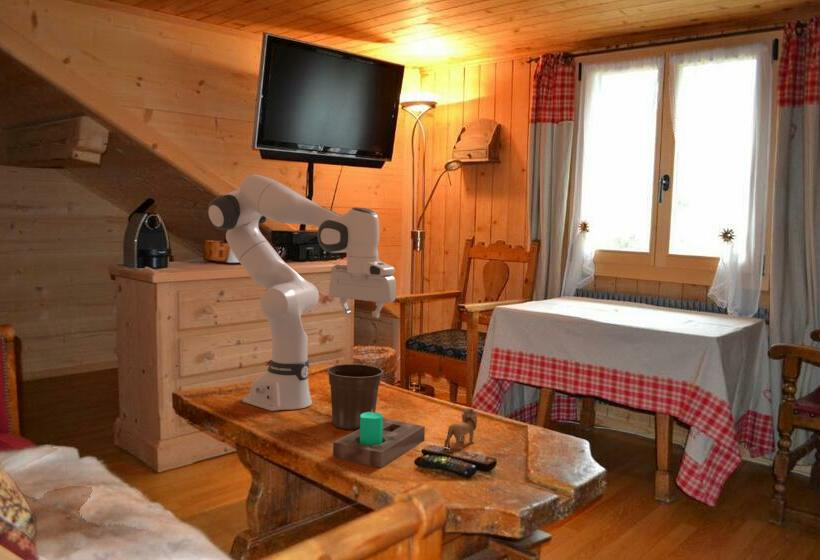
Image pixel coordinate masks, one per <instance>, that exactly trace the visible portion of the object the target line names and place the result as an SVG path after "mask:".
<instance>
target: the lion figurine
mask: <svg viewBox="0 0 820 560" xmlns="http://www.w3.org/2000/svg"><path fill="white" fill-rule="evenodd" d="M477 418H478V416H477V412H476V410H475V409H473V408H471V407H467V408H465V409H464V410H463V413H461V420H462V421H461V422H459V423H457V422H454V423H451V424H450V426H448V431H447V436H446V438H445V440H444V443H443V445H444V446H443V448H444V447H448V448H450V449H451V446H450V442H451V439H452V437H453V436H454V438H455V445H456V447H457V449H459V450H463V449H464V447H463V446H461V445H460V442H461V443H465V442H466V437H465V436H466V435H468V434H469V440H468V441H469V444H472V445H473V444H475V443H474V441H473V438H474V431H475V430H476V429H477V424H478V419H477Z"/></svg>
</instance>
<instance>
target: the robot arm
mask: <svg viewBox="0 0 820 560" xmlns="http://www.w3.org/2000/svg"><path fill="white" fill-rule="evenodd" d="M207 218H208V220H209V221H210V223H211V224H212V226H213V227H214V228H216V229H217V230H219V231H226V233H225V240H226V242H227V244H228V246H229V248H230V250H231V251H232V253H233V255H234V256H235V258H236V260H237V261H238V262H239V263H240V264H241V266H242V268H243V269H244V270H245V272H247V274H248V275H249V277H250V278H251V279H252V281H254V282H255V283H256V284H257V285H260V286H262V287H263V288H265V289H266V290H265V291H264V292H263V293H262V294H261V297H260V299H259V307H260V310H261V311H262V313H263V315H264V316H265V317H266V318H267V321H268V324H269V329H270V332H271V344H272V345H271V346H272V347H271V349H272V351H271V353H272V354H271V355H272V357H271V358H272V359H270V360H269V361H266V362H264V363H265V365H264V366H265V367H266V366H268V367H267V370H266V371H265V372H264V373H262V374H261V375H260V376H259V377H257V378H256V379H254V380H253V381H252V383H251V385H250V389H249V394H247V395H245V396H243V398H242V403H244V404H249V405H252V406H255V407H258V408H261V409H265V410H268V411H271V412H274V411H281V410H282V411H285V410H286V411H287V410H300V409H304V408H307V407H310V406H311V405H312V404H313V401H312V396H311V392H310V386H309V385H310V384H309V374H310V373H309V372H310V371H309V370H310V360H309V359H308V356H309V355H308V354H309V353H308V352H309V351H308V346H309V336H308V334H307V333H306V331H305V330H304V327H303V322H302V315H304V314H307V313H309V312H310V311H312V310H313V309H314V308H315V307H316V306H317V304H318V303H319V298H320V295H319V290H318V288H317V287H316V286H315V285H314V283H312V282H310V281H308V280H307V279H305V278H304V277H302V276H301V275H300V274H299V273H298V272H296V270H294V269H293V268H292V267H291V266H290V265H288V264H287V263H286V261H284V259H282V257H281V256H280V255H279V254H278V252H277V251H276V250H275V249H274V247H273V246H272V245H271V243H270V242H269V241H268V240H267V239H266V237H265V236H264V235H263V234H262V232H261V230H260V229H259V224H264V223H265V222H267V219H269V220H271V221H273V222H275V223H276V222H277V223H280V224H289V225H290V224H294V225H295V224H296V225H297V224H298V225H307V226H314V227H317V228H318V230H317V241H318V244H319V246H320V248H321V249H322V250H324V251H325V252H326V253H332V254H339V253H346V265H345V264H343V265H342V264H335V265H334V266H332V267H331V268H330V279H329V286H328V294H329V296H330V297H332V298H338V299H339V302H340V305H341V306H342V308H343V309H342V311H343V314H344V315H351V311H352V308H351V307H349V305H348V301H349V300H358V301H359V300H360V301H364V302H374V303H375V306H376V308H375V310H372V311H371V317H372V318H373V319H379V318H381V311H382V309H383V307H384V305H385V304H391V303H393V302H395V300H396V299H397V281H396V278H395V277H394V275H395V271H396V269H395V267H394V266H392V265H391V264H387V263H385V262H384V261H381V260H380V259H379V258H380V254H379V251H378V250H379V249H378V248H379V243H380V220H379V216H378V214H377V212H376V211H374V210H373V209H368V208H365V207H364V208H363V207H359V206H357V207H352V208H350V209H349V210H348V211H347V212H345V213H344V214H340V213H337V212H335V211H333V210H332V209H329V208H327V207H324V206H322V205H320V204H318V203H316V202H314V201H312V200H310V199H309V198H307V197H305V196H304V195H301V194H300V193H298V192H297V191H295V190H293V189H292V188H290V187H289V186H286V185H285V184H283V183H281V182H280V181H278V180H275V179H272V178H271V177H268V176H264V175H261V174H250V175H248V176H246V177H245V178H244V179H243V180H242V182H241V183H240V186H239V188H236V189H234V190H232V191H230V192H228V193H225V194H221V195H219V196H217V197H214V198H213V199H212V200H211V201H210V202H208V206H207Z"/></svg>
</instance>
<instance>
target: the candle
mask: <svg viewBox="0 0 820 560" xmlns="http://www.w3.org/2000/svg"><path fill="white" fill-rule="evenodd" d="M383 418H384V415H383V414H382V413H381V412H375V413H372V412H366V413H363V414H361V415H360V428H359V429H360V444H364V445H379V444H382V441H383Z"/></svg>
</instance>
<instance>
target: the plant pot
mask: <svg viewBox="0 0 820 560" xmlns="http://www.w3.org/2000/svg"><path fill="white" fill-rule="evenodd" d="M326 372H327V374H328V383H329V386H330V399H331V400H330V401H331V402H330V403H331V418H332V422H331V423H332V424H333V425H334V426H335V427H336V428H339V429H342V430H350V431H351V430H353V431H354V430H355V431H356V430H357V429H360V415H361V414H363V413H366V412H372V413H376V410H377V409H376V408H377V402H378V401H377V400H378V394H379V387H380V386H381V380H382V376H383V374H384V370H383V369H382V368H380V367H378V366H375V365H374V366H373V365H370V364H363V363H346V364H336V365H332V366H329V367H328V368H327V371H326Z"/></svg>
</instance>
